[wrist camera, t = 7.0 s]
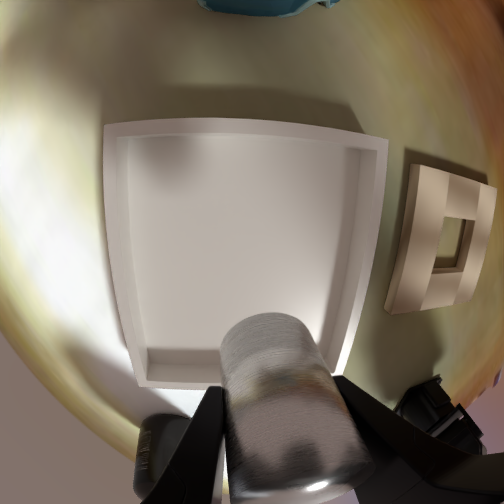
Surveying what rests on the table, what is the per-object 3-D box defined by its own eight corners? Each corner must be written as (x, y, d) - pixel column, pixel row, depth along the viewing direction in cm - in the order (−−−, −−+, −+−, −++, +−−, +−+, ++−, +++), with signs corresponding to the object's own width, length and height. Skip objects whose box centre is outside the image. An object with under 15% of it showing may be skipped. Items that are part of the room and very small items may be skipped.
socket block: (463, 295, 22) (470, 300, 21) (383, 307, 21) (390, 315, 20) (488, 186, 18) (497, 188, 17) (410, 163, 17) (420, 164, 16)
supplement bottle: (160, 445, 25) (155, 530, 13) (129, 414, 22) (112, 513, 11) (214, 439, 25) (221, 532, 14) (188, 407, 22) (187, 520, 11)
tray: (330, 359, 22) (340, 378, 20) (144, 365, 20) (138, 386, 18) (367, 140, 16) (388, 139, 14) (119, 128, 14) (103, 124, 12)
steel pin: (304, 378, 11) (349, 496, 5) (220, 383, 10) (231, 516, 5) (318, 310, 10) (398, 444, 4) (218, 313, 9) (228, 479, 4)
